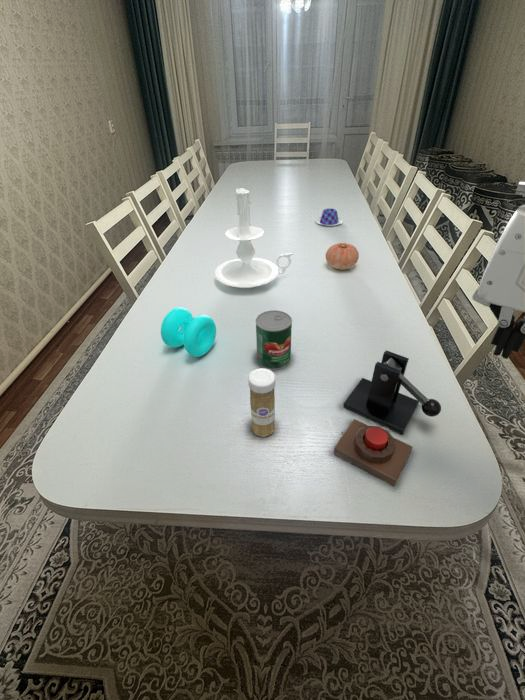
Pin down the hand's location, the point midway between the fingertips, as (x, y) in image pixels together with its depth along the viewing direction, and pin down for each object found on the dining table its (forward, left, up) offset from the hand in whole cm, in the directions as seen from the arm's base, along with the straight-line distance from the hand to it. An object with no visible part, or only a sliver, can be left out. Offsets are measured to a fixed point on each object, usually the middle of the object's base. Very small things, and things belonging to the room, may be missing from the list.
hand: (501, 351), depth 45 cm
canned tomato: (+40, -7, -25) cm, 48 cm away
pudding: (+73, -97, -25) cm, 124 cm away
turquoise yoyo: (+59, +1, -25) cm, 64 cm away
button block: (+11, +5, -25) cm, 28 cm away
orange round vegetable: (+49, -60, -25) cm, 81 cm away
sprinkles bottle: (+30, +11, -25) cm, 41 cm away
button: (+11, +5, -22) cm, 25 cm away
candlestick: (+68, -36, -25) cm, 81 cm away
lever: (+10, -7, -19) cm, 23 cm away
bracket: (+14, -7, -25) cm, 30 cm away
